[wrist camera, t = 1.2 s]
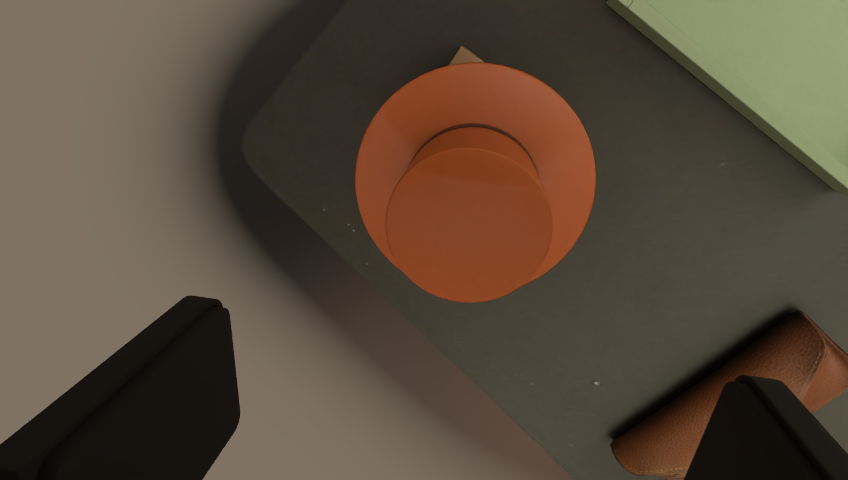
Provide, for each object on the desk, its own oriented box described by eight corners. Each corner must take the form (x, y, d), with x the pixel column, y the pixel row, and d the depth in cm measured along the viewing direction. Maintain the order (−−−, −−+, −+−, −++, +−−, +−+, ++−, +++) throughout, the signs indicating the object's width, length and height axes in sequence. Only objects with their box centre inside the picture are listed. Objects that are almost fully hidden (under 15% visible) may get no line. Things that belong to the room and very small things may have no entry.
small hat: (318, 209, 23) (269, 255, 18) (444, 5, 18) (428, -12, 13) (492, 326, 24) (494, 400, 19) (647, 162, 20) (703, 201, 15)
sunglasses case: (676, 490, 40) (673, 533, 35) (616, 423, 43) (604, 454, 37) (871, 369, 34) (907, 398, 28) (786, 298, 36) (804, 312, 30)
